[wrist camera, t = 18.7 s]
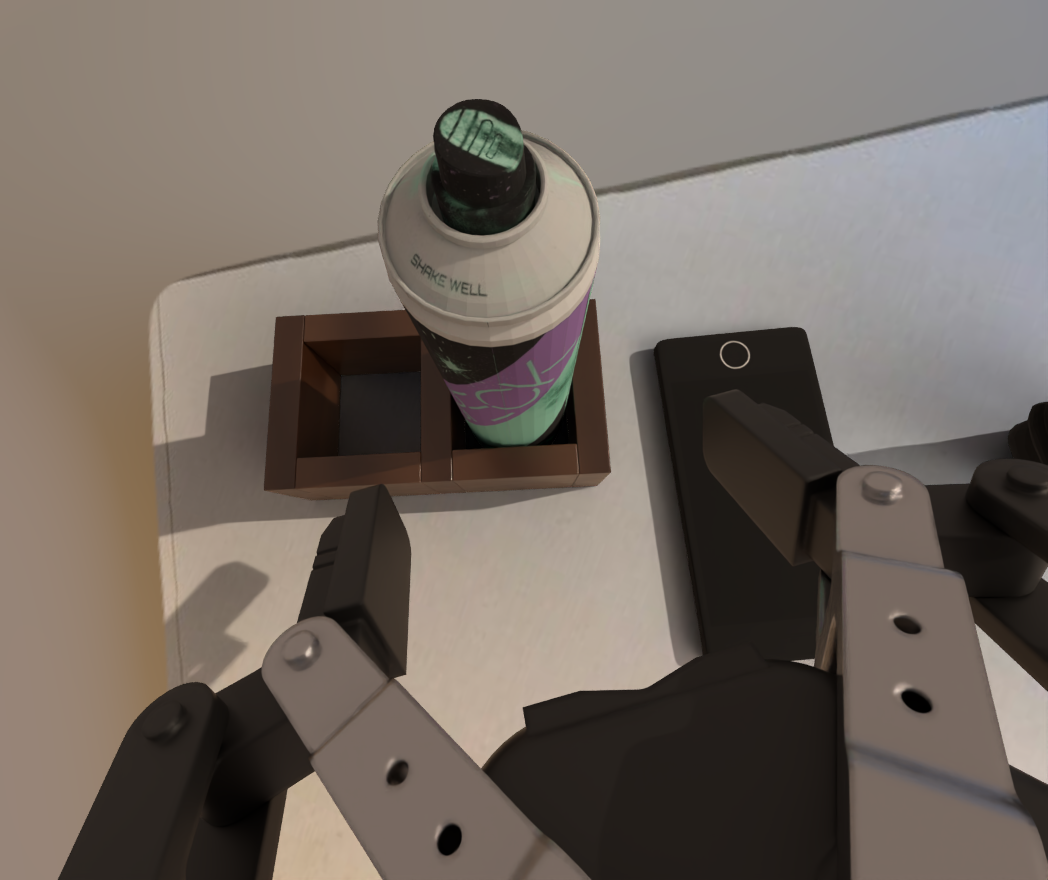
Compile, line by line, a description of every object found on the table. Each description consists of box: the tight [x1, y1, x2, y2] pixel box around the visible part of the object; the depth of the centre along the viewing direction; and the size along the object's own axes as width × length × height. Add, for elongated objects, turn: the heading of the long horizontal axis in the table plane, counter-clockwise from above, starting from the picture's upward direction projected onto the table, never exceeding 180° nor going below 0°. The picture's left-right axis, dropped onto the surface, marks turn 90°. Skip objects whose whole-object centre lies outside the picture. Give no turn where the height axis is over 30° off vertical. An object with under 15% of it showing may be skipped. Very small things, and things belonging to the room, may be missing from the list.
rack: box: [264, 299, 611, 500], centre depth 26 cm, size 16×9×5 cm, turn 93°
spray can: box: [378, 99, 600, 448], centre depth 19 cm, size 6×6×20 cm
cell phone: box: [654, 327, 834, 661], centre depth 27 cm, size 9×18×1 cm, turn 5°
